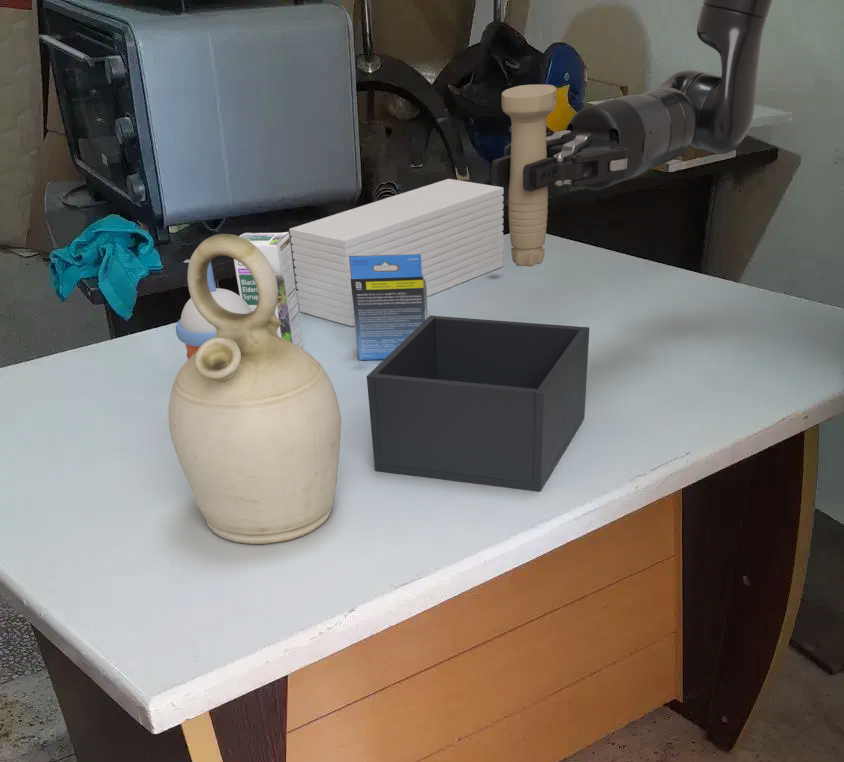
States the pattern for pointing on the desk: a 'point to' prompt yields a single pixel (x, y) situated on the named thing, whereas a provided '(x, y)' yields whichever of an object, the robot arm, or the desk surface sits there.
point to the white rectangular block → (400, 242)
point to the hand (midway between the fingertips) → (510, 176)
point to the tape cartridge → (386, 302)
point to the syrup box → (281, 262)
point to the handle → (527, 147)
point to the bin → (479, 401)
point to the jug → (253, 414)
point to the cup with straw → (198, 329)
